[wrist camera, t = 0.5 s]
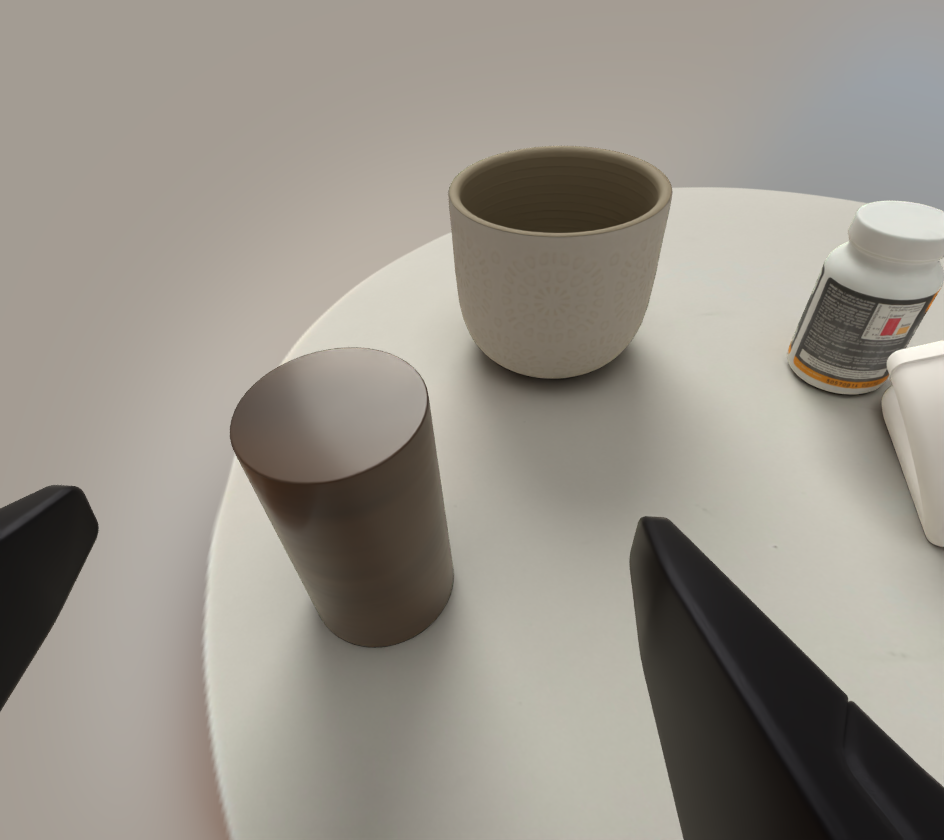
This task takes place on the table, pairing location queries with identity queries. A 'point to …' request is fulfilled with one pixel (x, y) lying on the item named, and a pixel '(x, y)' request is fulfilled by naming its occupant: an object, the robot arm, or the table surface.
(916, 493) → the tape dispenser
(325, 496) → the pedestal
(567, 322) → the planter
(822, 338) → the pill bottle
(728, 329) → the table surface
